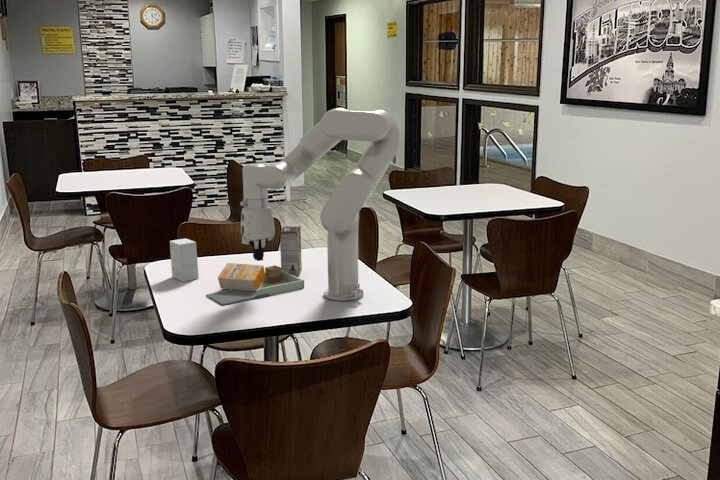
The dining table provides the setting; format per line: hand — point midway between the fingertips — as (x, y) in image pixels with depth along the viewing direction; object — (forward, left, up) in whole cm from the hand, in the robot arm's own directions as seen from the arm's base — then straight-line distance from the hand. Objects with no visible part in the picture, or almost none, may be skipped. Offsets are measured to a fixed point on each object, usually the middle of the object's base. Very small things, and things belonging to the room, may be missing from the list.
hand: (258, 259), depth 228 cm
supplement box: (+1, -1, -6) cm, 7 cm away
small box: (+30, +13, -11) cm, 34 cm away
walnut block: (+7, -9, -11) cm, 16 cm away
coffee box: (+12, -19, -11) cm, 25 cm away
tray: (+2, -5, -11) cm, 12 cm away
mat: (0, +8, -11) cm, 13 cm away
